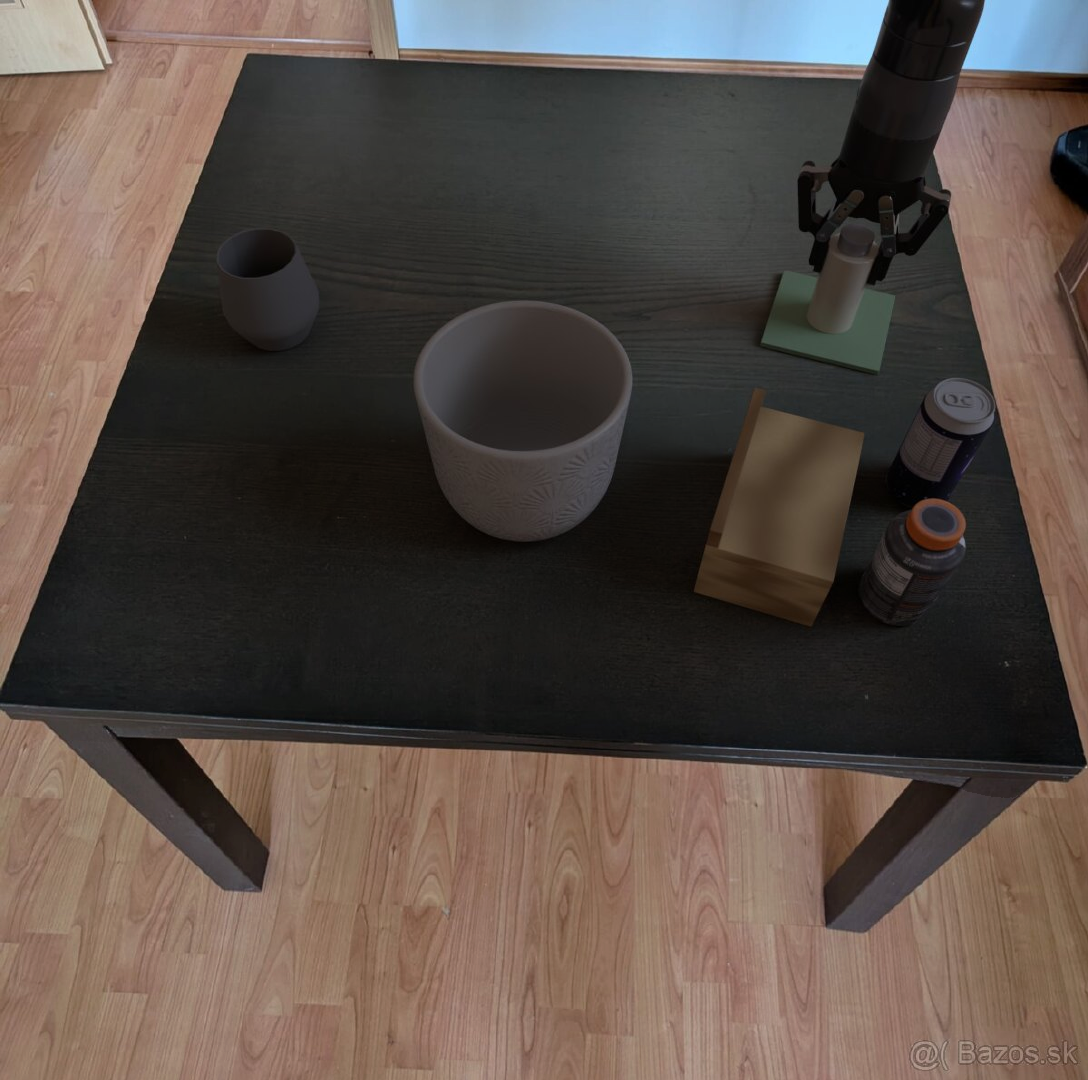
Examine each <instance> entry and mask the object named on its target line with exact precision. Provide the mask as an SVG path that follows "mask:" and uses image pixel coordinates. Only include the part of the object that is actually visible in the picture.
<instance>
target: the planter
mask: <svg viewBox="0 0 1088 1080" xmlns="http://www.w3.org/2000/svg"><path fill="white" fill-rule="evenodd" d="M632 369H633V368H632V366H631V361H630V358H629V356H628V354H627V352H626V349H624V347H623V345H622V344H621V342H620V341H619V339H618V338H617V337H616V336H615V334H614V333H612V332H611V331H610V330H609V329H608V328H607V327H606V326H604V325H603V324H602V323H600V322H599V321H598V320H596V319H595V318H593V317H591V316H589V315H587V314H585V313H583V312H581V311H579V310H576V309H574V308H571V307H568V306H565V305H561V304H557V303H553V302H548V301H538V300H527V299H526V300H525V299H524V300H508V301H500V302H493V303H490V304H486V305H482V306H479V307H476V308H473V309H470V310H468V311H466V312H463V313H462V314H460V315H458V316H456V317H454V318H452V319H451V320H449V321H448V322H447V323H445V324H444V325H443V326H441V327H440V328H439V329H438V330H437V331H436V332H435V333H433V334H432V336H431V337H430V338H429V339H428V340H427V342H426V343H425V345H424V346H423V347H422V349H421V351H420V353H419V355H418V357H417V360H416V362H415V367H414V372H413V391H414V396H415V399H416V404H417V407H418V411H419V415H420V419H421V423H422V427H423V430H424V434H425V439H426V442H427V447H428V451H429V454H430V458H431V462H432V466H433V469H434V474H435V476H436V480H437V482H438V485H439V487H440V489H441V491H442V493H443V495H444V496H445V498H446V500H447V501H448V503H449V505H450V506H451V507H452V508H453V510H454V511H455V512H456V513H457V514H458V515H459V516H460V517H461V518H462V519H463V520H464V521H466V523H468V524H469V525H471V526H472V527H474V528H475V529H476V530H478V531H480V532H482V533H485V534H486V535H488V536H490V537H494V538H497V539H500V540H506V541H512V542H537V541H544V540H548V539H552V538H555V537H558V536H560V535H564V534H565V533H567V532H569V531H571V530H572V529H573V528H575V527H577V526H578V525H580V524H581V523H582V522H583V521H585V520H586V519H587V518H588V517H589V516H590V515H591V514H592V513H593V512H594V510H595V509H596V508H597V506H598V505H599V504H600V502H601V501H602V499H603V498H604V496H605V494H606V492H607V490H608V488H609V485H610V484H611V482H612V477H613V475H614V471H615V468H616V463H617V459H618V454H619V449H620V445H621V440H622V436H623V433H624V427H625V424H626V419H627V415H628V410H629V405H630V400H631V396H632V390H633V370H632Z"/></svg>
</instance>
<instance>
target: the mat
mask: <svg viewBox="0 0 1088 1080" xmlns="http://www.w3.org/2000/svg"><path fill="white" fill-rule="evenodd" d="M817 278H818V276H814V275H813V276H812V275H808V274H804V273H799V272H795V271H790V270H783V272H782V275H781V278H780V282H779V284H778V287H777V291H776V294H775V297H774V299H773V303H772V306H771V310H770V312H769V315H768V319H767V322H766V325H765V328H764V331H763V335H762V337H761V340H760V344H759V346H760V347H761V348H766V349H769V350H773V351H777V352H781V353H786V354H791V355H794V356H798V357H802V358H806V359H811V360H815V361H818V362H822V363H827V364H831V365H834V366H839V367H841V368H842V367H843V368H847V369H851V370H855V371H859V372H863V373H866V374H871V375H876V376H879V373H880V371H881V366H882V362H883V356H884V352H885V347H886V342H887V338H888V333H889V329H890V323H891V318H892V314H893V309H894V304H895V299H896V295H895V294H890V293H886V292H883V291H878V290H873V289H869V288H866V289H865V291H864V294H863V297H862V300H861V302H860V305H859V308H858V311H857V313H856V316H855V319H854V321H853V324H852V326H851V328H850V329H848V330H847V331H845V332H843V333H839V334H828V333H824V332H821V331H819V330H817V329H815V328H814V327H812V326H811V325H810V323H809V322H808V320H807V316H806V314H807V310H808V307H809V304H810V300H811V297H812V294H813V291H814V287H815V284H816V281H817Z"/></svg>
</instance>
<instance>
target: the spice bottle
mask: <svg viewBox="0 0 1088 1080" xmlns="http://www.w3.org/2000/svg"><path fill="white" fill-rule="evenodd" d="M875 238H876V234H875V232H874V231H873V230H872V228H870V227H869V226H867V225H865V224H862V223H848V224H846V225H844V226H843V227H842V228H841V229H840V232H838V233H835V234H834V235H831V237H830V241H829V244H828V248H827V251H826V254H825V257H824V260H823V264H822V267H821V270H820V273H817V274H818V275H817V281H816V284H815V287H814V291H813V294H812V297H811V300H810V304H809V307H808V310H807V314H806V316H807V320H808V322H809V323H810V325H811V326H812V327H814V328H815V329H817V330H819V331H821V332H824V333H828V334H839V333H843V332H845V331H847V330H848V329H850V328H851V326H852V324H853V321H854V319H855V316H856V313H857V311H858V308H859V305H860V302H861V300H862V297H863V294H864V291H865V289H867V286H868V284H867V283H868V280H869V277H870V274H871V272H872V269H873V266H874V263H875V261H876V258H877V255H878V251H879V246H878V244H877V243H876V242H875Z"/></svg>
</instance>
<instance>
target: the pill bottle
mask: <svg viewBox="0 0 1088 1080" xmlns="http://www.w3.org/2000/svg"><path fill="white" fill-rule="evenodd" d="M966 527H967V523H966V519H965V516H964V514H963V513H962V511H961V510H960V509H959V508H958V507H957V506H955V505H954V504H953V503H950V502H949V501H948V500H947V501H944V500H941V499H925V500H922V501H920V502H918V503H917V504H916V505H915V506H914V507H913V508H911V509H908V510H905V511H902V512H900V513H899V514H897V515H896V516H895V517H893V519H892V520H891V521H890V522H889V524H888V525H887V527H886V529H885V531H884V533H883V535H882V536H881V539H880V541H879V543H878V544H877V547H876V549H875V550H874V552H873V554H872V556H871V558H870V560H869V562H868V564H867V566H866V568H865V570H864V572H863V574H862V575H861V577H860V580H859V583H858V597H859V600H860V602H861V604H862V606H863V607H864V609H865V610H866V611H867V612H868V613H869V614H870V616H872V617H874V618H875V619H876V620H878V621H880V622H883V623H885V624H887V625H890V626H896V627H906V626H911V625H916V624H917V623H919V622H920V621H921V620H923V619H924V618H925V617H927V615H928V614H929V613H930V611H931V609H932V608H933V606H934V604H935V603H936V601H937V600H938V598H939V596H940V595H941V594H942V592H943V591H944V589H945V587H946V586H947V584H948V583H949V581H950V580H951V578H952V577H953V575H954V574H955V572H956V571H957V569H959V566H960V565H961V563H962V562H963V560H964V558H965V555H966V539H965V537H964V533H965V531H966Z"/></svg>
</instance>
